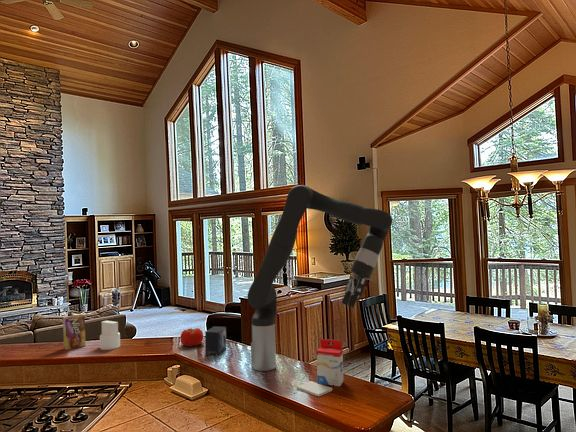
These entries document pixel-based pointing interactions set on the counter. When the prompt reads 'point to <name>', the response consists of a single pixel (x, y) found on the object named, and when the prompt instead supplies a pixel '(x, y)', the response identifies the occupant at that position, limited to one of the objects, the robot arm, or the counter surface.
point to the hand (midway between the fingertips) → (347, 305)
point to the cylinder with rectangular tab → (109, 335)
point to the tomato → (191, 337)
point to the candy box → (74, 331)
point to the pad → (314, 388)
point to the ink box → (330, 363)
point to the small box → (215, 341)
